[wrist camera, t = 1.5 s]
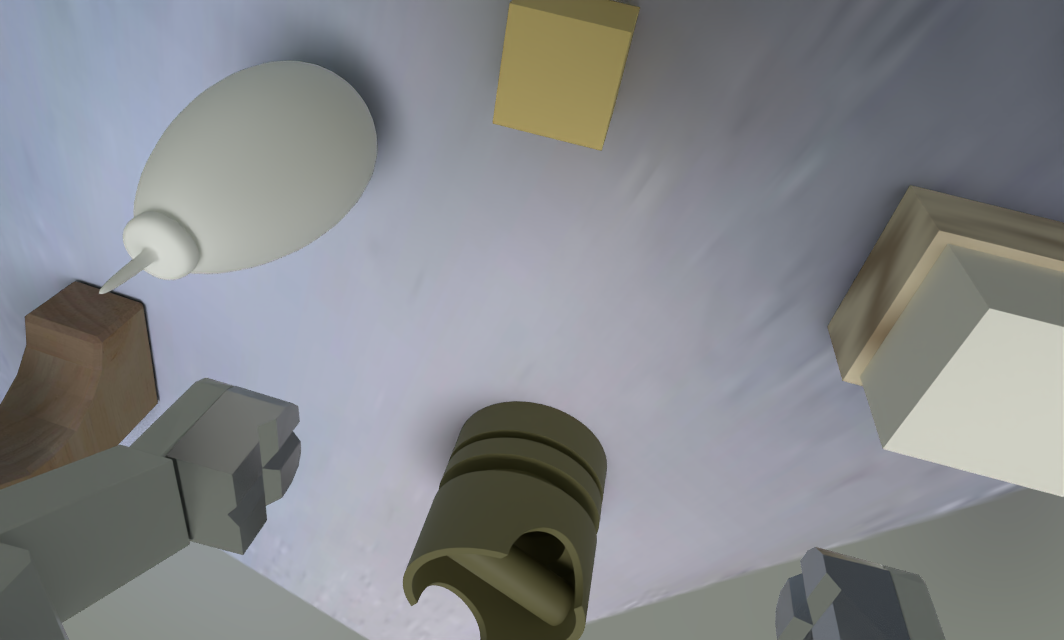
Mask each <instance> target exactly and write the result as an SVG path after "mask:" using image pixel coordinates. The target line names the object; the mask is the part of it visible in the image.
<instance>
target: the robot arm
mask: <svg viewBox="0 0 1064 640" xmlns="http://www.w3.org/2000/svg"><path fill="white" fill-rule="evenodd" d="M299 422H300V420H299V409H298V406H297V405H295V404H293V403H290V402H287V401H284V400H280V399H277V398H274V397H270V396H267V395H264V394H261V393H257V392H254V391H251V390H247V389H244V388H241V387H238V386H233V385H230V384H226V383H223V382H219V381H216V380H213V379H209V378H204V379H201V380H199V381H197V382H195V383H194V384H193V385H192V386H191V387H190V388H189V389H188V390H187V391H186V392H185V393H184V394H183V395H182V396H181V397H180V398H179V399H178V400H177V401H175V402H174V403H173V404H172V405H171V406H170V407H169V408H168V409H167V410H166V411H165V412H164V413H163V414H162V415H161V416H160V417H159V418H158V419H157V420H156V421H155V422H154V423H153V424H152V425H151V426H150V427H149V428H148V429H147V430H146V431H145V432H144V433H143V434H142V435H141V436H140V437H139V438H138V439H137V440H136V441H135V442H134V443H133V444H132V445H131V446H130V447H127V446H123V445H118V446H115V447H112V448H110V449H107V450H104V451H102V452H99V453H96V454H94V455H91V456H88V457H86V458H83V459H80V460H78V461H75V462H73V463H70V464H67V465H65V466H62V467H59V468H57V469H54V470H51V471H49V472H46V473H43V474H41V475H38V476H35V477H33V478H30V479H28V480H25V481H22V482H20V483H17V484H14V485H12V486H9V487H6V488H4V489H1V490H0V640H69V638H68V636H67V634H66V632H65V629H64V627H63V625H62V622H64V621H66V620H67V619H69V618H71V617H72V616H74V615H76V614H77V613H78V612H81V611H82V610H84V609H85V608H87V607H89V606H90V605H92V604H93V603H95V602H97V601H98V600H100V599H102V598H103V597H105V596H107V595H108V594H110V593H111V592H113V591H115V590H116V589H118V588H120V587H121V586H123V585H125V584H126V583H128V582H129V581H131V580H133V579H134V578H135V577H137V576H139V575H141V574H142V573H144V572H146V571H147V570H149V569H151V568H152V567H154V566H155V565H157V564H159V563H160V562H162V561H163V560H165V559H167V558H168V557H170V556H172V555H173V554H175V553H177V552H178V551H180V550H182V549H183V548H185V547H186V546H188V545H189V544H190V541H192V542H196V543H199V544H203V545H207V546H211V547H215V548H218V549H222V550H226V551H230V552H234V553H237V554H241V555H244V553H245V552H246V550H247V549H248V547H249V546H250V544H251V543H252V541H253V540H254V538H255V537H256V535H257V534H258V533H259V531H260V530H261V528H262V527H263V525H264V524H265V522H266V521H267V515H266V506H267V505H269V504H271V503H273V502H275V501H277V500H279V499H281V498H282V497H283V496H284V494H285V492H286V491H287V489H288V488H289V486H290V485H291V483H292V481H293V478H294V476H295V473H296V471H297V468H298V466H299V460H300V455H301V441H300V440H299V439H298V437H297V436H296V435H295V433H294V432H293V430H294V429H295V427H296V426H297V424H298V423H299ZM801 567H802V574H799V575H796V576H794V577H791V578H789V579H788V580H787V582H786V584H785V585H784V587H783V588H782V590H781V592H780V595H779V599H778V603H777V607H776V634H777V640H946V639H945V637H944V634H943V631H942V628H941V625H940V623H939V620H938V617H937V614H936V611H935V608H934V605H933V603H932V600H931V597H930V594H929V591H928V588H927V586H926V583H925V582H924V580H923V579H922V578H921V577H920V576H919V575H917V574H914V573H910V572H906V571H903V570H899V569H895V568H892V567H888V566H884V565H882V566H881V565H880V564H878V563H874V562H870V561H866V560H863V559H859V558H855V557H852V556H847V555H843V554H840V553H836V552H833V551H829V550H825V549H821V548H817V547H814V548H812V549H810V550H808V551H807V552H806V554H805V555H804V557H803V558H802V559H801Z"/></svg>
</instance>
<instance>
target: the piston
mask: <svg viewBox="0 0 1064 640" xmlns="http://www.w3.org/2000/svg"><path fill="white" fill-rule="evenodd" d="M606 471H607V460H606V455H605V452H604V450H603V447H602V445H601V444H600V442H599V440H598V439H597V438H596V436H595V435H594V434H593V433H592V432H591V431H590V430H589V429H588V428H587V427H586V426H585V425H584V424H582V423H581V422H580V421H578V420H577V419H575V418H574V417H572V416H570V415H568V414H567V413H565V412H562V411H560V410H558V409H555V408H552V407H549V406H546V405H542V404H537V403H531V402H520V401H514V402H503V403H498V404H494V405H491V406H488V407H485V408H483V409H481V410H479V411H478V412H476V413H475V414H473V415H472V416H471V417H470V418H469V419H468V420H467V421H466V423H465V424H464V426H463V427H462V430H461V432H460V435H459V437H458V440H457V442H456V445H455V447H454V450H453V452H452V455H451V457H450V460H449V463H448V465H447V467H446V470H445V472H444V475H443V478H442V480H441V483H440V486H439V491H438V492H437V494H436V496H435V498H434V500H433V503H432V505H431V508H430V510H429V513H428V515H427V518H426V521H425V523H424V526H423V528H422V531H421V533H420V536H419V538H418V541H417V543H416V546H415V548H414V551H413V553H412V556H411V558H410V561H409V563H408V566H407V568H406V571H405V574H404V577H403V589H404V593H405V595H406V598H407V600H408V601H409V603H410V605H411V606H412V605H414V604H416V603H417V602H418V600H419V597H420V596H421V594H422V592H423V591H424V590H425V588H426V587H428V586H431V585H437V586H441V587H444V588H446V589H448V590H450V591H452V592H453V593H455V594H456V595H457V596H458V597H460V598H461V599H462V600H463V601H464V602H465V604H466V605H467V606H468V607H469V609H470V610H471V611H472V613H473V615H474V617H475V619H476V621H477V623H478V626H479V630H480V638H481V639H480V640H578V639H579V638H580V637H581V635H582V633H583V631H584V628H585V623H586V616H587V609H588V601H589V594H590V587H591V580H592V572H593V565H594V558H595V551H596V544H597V535H596V534H597V532H598V528H599V522H600V515H601V506H602V500H603V493H604V486H605V478H606Z"/></svg>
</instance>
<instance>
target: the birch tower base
mask: <svg viewBox="0 0 1064 640" xmlns="http://www.w3.org/2000/svg"><path fill="white" fill-rule="evenodd" d="M947 244H952V245H956V246H960V247H964V248H968V249H972V250H976V251H980V252H984V253H988V254H993V255H997V256H1001V257H1005V258H1009V259H1013V260H1017V261H1021V262H1025V263H1029V264H1033V265H1037V266H1041V267H1045V268H1049V269H1053V270H1057V271H1061V272H1064V223H1063V222H1059V221H1055V220H1050V219H1046V218H1042V217H1038V216H1034V215H1030V214H1026V213H1022V212H1018V211H1014V210H1010V209H1006V208H1002V207H998V206H993V205H989V204H985V203H981V202H977V201H973V200H969V199H965V198H961V197H957V196H953V195H949V194H945V193H940V192H936V191H932V190H928V189H924V188H920V187H916V186H912V185H910V186H909V188H908V190H907V191H906V193H905V195H904V196H903V198H902V200H901V202H900V203H899V205H898V207H897V208H896V210H895V212H894V214H893V215H892V217H891V219H890V220H889V222H888V224H887V226H886V227H885V229H884V231H883V232H882V234H881V236H880V238H879V239H878V241H877V243H876V244H875V246H874V248H873V250H872V251H871V253H870V255H869V256H868V258H867V260H866V261H865V263H864V265H863V267H862V268H861V270H860V272H859V273H858V275H857V277H856V279H855V280H854V282H853V284H852V285H851V287H850V289H849V291H848V292H847V294H846V296H845V297H844V299H843V301H842V303H841V304H840V306H839V308H838V309H837V311H836V313H835V315H834V316H833V318H832V320H831V321H830V323H829V325H828V330H829V334H830V338H831V341H832V345H833V348H834V352H835V355H836V359H837V363H838V366H839V370H840V373H841V377H842V381H845V382H849V383H853V384H857V385H861V386H863V384H862V381H861V378H860V376H861V374H862V373H863V371H864V370H865V368H866V367H867V365H868V364H869V362H870V361H871V359H872V358H873V356H874V355H875V353H876V352H877V350H878V349H879V347H880V346H881V344H882V343H883V341H884V340H885V338H886V337H887V335H888V334H889V332H890V330H891V329H892V327H893V326H894V324H895V323H896V321H897V320H898V318H899V317H900V315H901V314H902V312H903V311H904V309H905V308H906V306H907V305H908V303H909V302H910V300H911V299H912V297H913V296H914V294H915V293H916V291H917V290H918V288H919V286H920V285H921V283H922V282H923V280H924V279H925V277H926V276H927V274H928V273H929V271H930V270H931V268H932V267H933V265H934V264H935V262H936V261H937V259H938V258H939V256H940V255H941V253H942V252H943V250H944V249H945V247H946V246H947Z"/></svg>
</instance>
